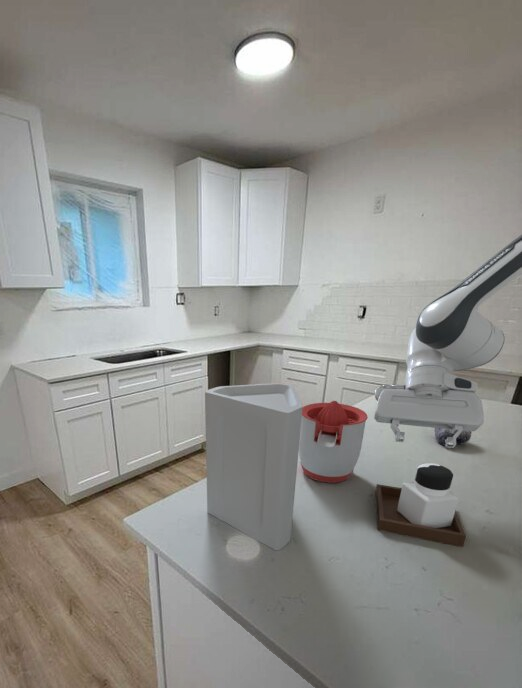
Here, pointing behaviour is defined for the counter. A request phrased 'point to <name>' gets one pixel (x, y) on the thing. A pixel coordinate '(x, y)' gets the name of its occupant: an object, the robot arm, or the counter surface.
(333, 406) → the citrus juicer
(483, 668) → the counter surface
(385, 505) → the tray
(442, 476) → the medicine bottle
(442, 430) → the pumice stone
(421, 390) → the robot arm
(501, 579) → the counter surface
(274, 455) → the triangular white caddy
